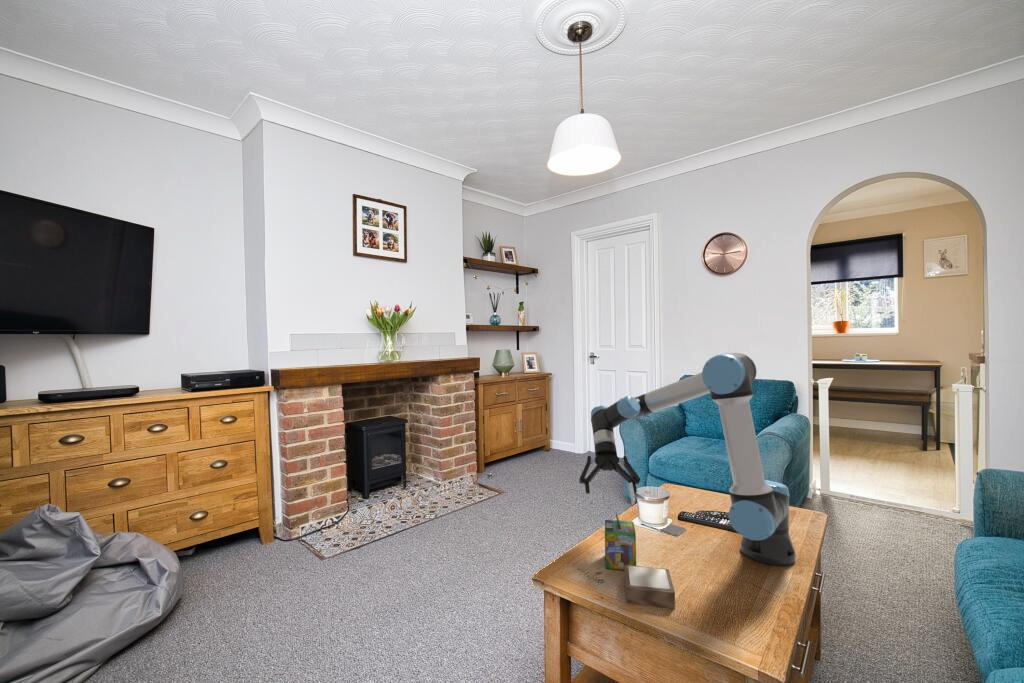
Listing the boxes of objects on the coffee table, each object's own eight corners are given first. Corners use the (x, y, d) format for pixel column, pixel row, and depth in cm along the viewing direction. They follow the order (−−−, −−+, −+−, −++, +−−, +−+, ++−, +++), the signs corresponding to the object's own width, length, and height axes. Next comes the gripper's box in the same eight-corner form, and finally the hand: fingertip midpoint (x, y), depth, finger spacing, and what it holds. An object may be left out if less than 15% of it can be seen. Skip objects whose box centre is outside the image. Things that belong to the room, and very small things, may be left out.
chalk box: (636, 572, 132) (636, 522, 132) (604, 569, 134) (604, 519, 134) (634, 557, 141) (634, 510, 141) (604, 554, 143) (604, 508, 143)
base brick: (668, 583, 126) (668, 568, 126) (674, 608, 114) (674, 591, 114) (624, 578, 129) (624, 563, 128) (626, 602, 117) (626, 586, 117)
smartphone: (649, 517, 172) (687, 528, 161) (649, 519, 172) (687, 531, 161) (639, 522, 166) (677, 534, 156) (639, 525, 166) (677, 537, 156)
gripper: (638, 451, 163) (649, 508, 148) (569, 450, 164) (573, 507, 149) (641, 440, 158) (653, 498, 143) (570, 439, 159) (574, 497, 144)
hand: (612, 502), depth 146 cm, fingers open, 13 cm apart
